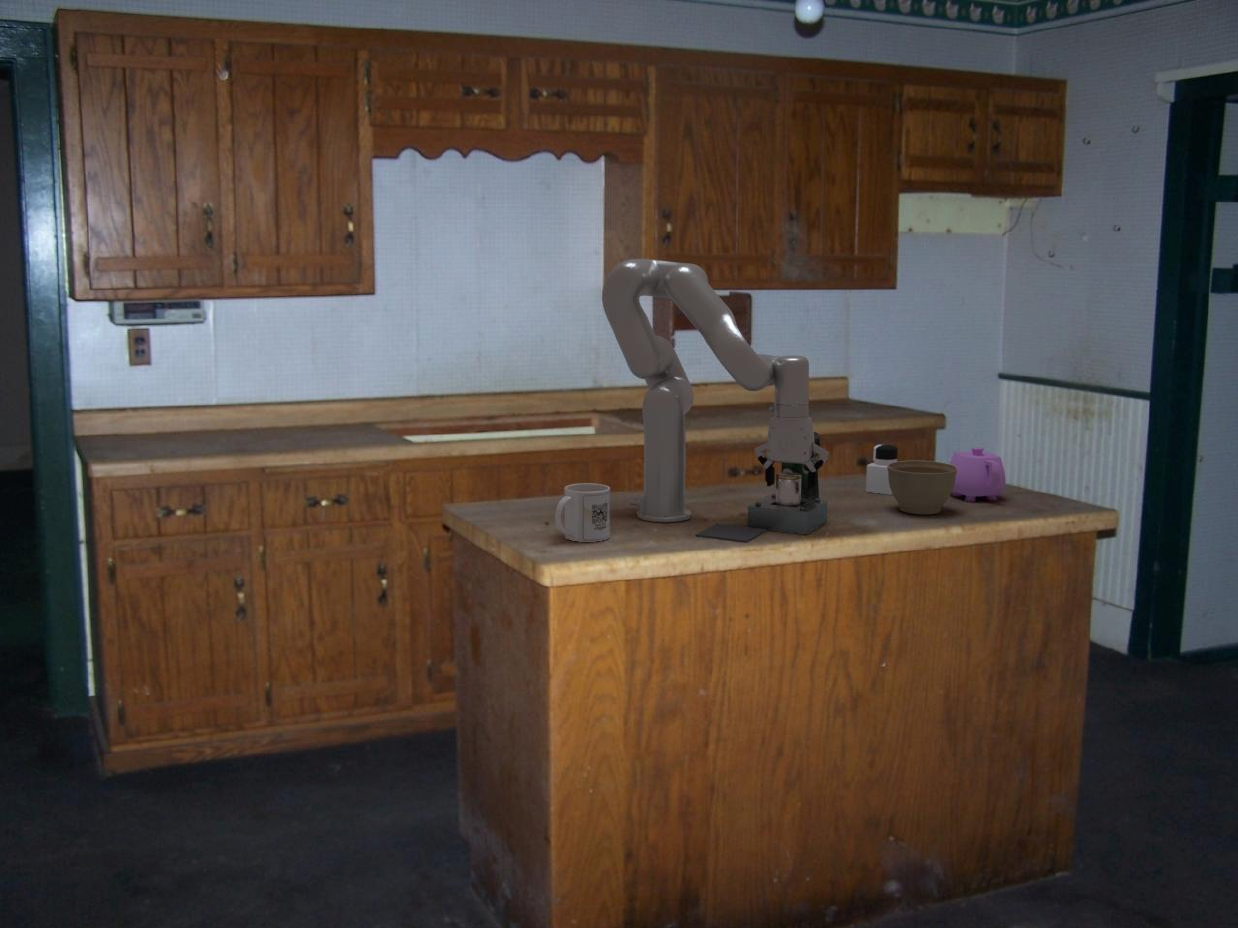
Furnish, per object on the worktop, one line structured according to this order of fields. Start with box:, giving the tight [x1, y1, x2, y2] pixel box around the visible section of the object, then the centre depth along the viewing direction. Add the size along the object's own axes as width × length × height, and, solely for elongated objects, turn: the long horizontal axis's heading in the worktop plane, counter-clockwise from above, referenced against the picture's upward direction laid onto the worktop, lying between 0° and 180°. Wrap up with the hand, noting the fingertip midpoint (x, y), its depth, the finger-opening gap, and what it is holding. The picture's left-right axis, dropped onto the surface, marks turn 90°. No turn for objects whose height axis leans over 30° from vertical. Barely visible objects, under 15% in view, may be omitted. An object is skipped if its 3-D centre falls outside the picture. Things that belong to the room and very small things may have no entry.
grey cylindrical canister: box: [775, 472, 802, 507], centre depth 290 cm, size 6×6×12 cm
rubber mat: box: [695, 523, 768, 543], centre depth 282 cm, size 12×12×1 cm
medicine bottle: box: [865, 443, 899, 496], centre depth 328 cm, size 7×7×12 cm
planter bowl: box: [887, 459, 957, 516], centre depth 305 cm, size 16×16×11 cm
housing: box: [746, 493, 829, 535], centre depth 290 cm, size 14×14×6 cm
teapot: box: [949, 446, 1006, 502], centre depth 322 cm, size 20×12×13 cm, turn 15°
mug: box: [554, 482, 611, 543], centre depth 276 cm, size 10×12×11 cm
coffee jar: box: [780, 431, 821, 499], centre depth 308 cm, size 10×8×19 cm
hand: (790, 486), depth 289 cm, fingers open, 9 cm apart
